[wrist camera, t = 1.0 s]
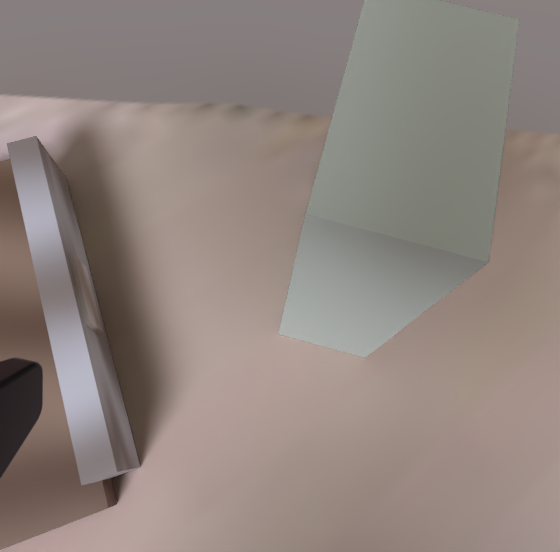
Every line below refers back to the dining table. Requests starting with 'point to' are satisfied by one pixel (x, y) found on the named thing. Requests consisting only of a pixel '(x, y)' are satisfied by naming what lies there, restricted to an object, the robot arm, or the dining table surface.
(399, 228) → the carton
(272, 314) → the dining table surface
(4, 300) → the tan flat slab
